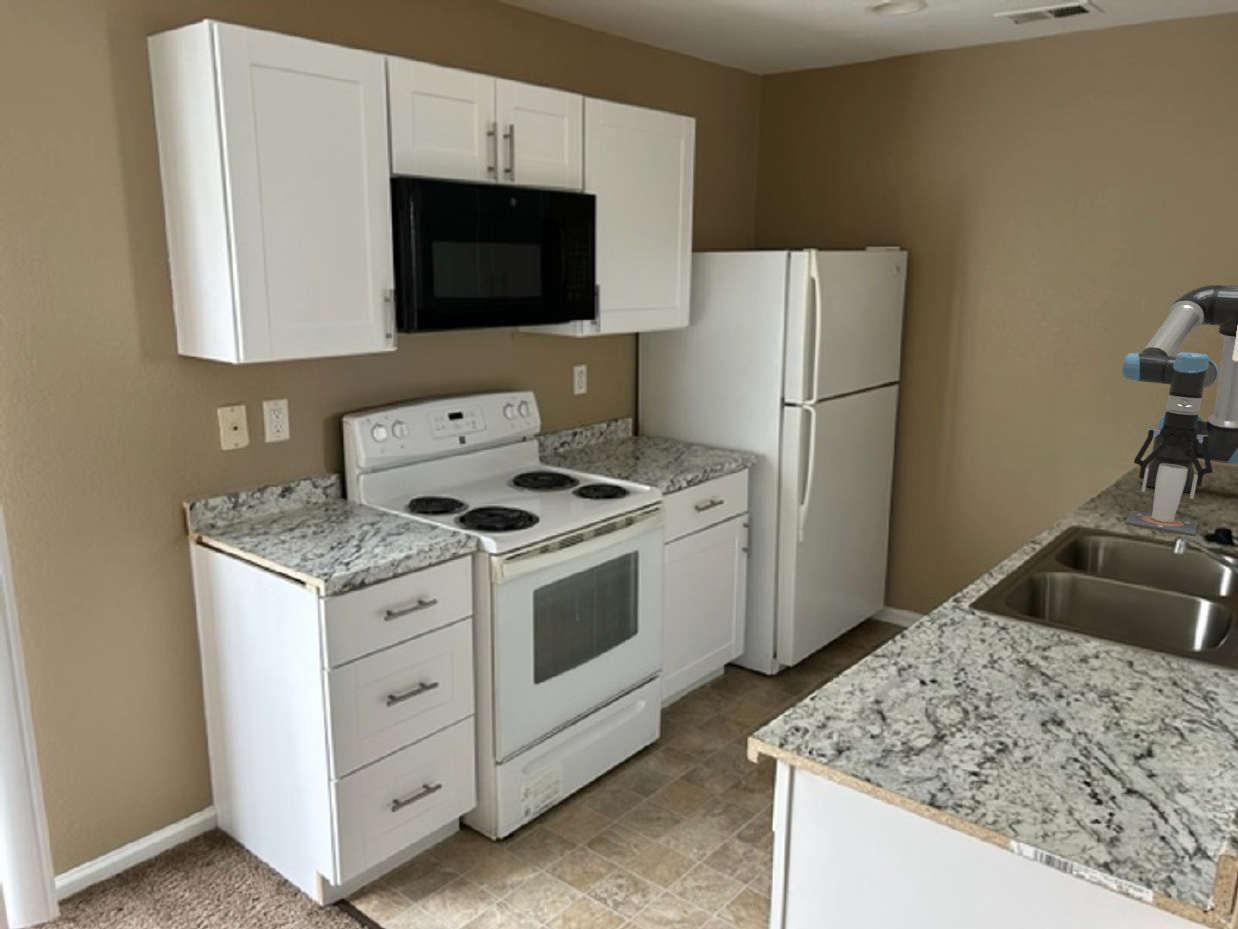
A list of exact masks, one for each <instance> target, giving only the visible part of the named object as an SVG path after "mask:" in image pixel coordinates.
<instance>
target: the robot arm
mask: <svg viewBox="0 0 1238 929" xmlns="http://www.w3.org/2000/svg"><path fill="white" fill-rule="evenodd" d="M1201 325H1202V326H1203V325H1204V326H1205V325H1210V326H1219V327H1218V334H1219V335H1220V336H1221V337H1222V338H1223V344H1222V352H1221V357H1220V358H1221V359H1220V367H1219V365H1218V364H1216V363H1215V362H1214V361H1213V360H1210V357H1209V355H1207V354H1205V353H1196V352H1183V351H1182V352H1179V353H1178V351H1179V350H1180V348H1181V346H1182V345H1183V344H1184V342H1185V341H1186V340H1187V339H1188V337H1189V336H1190V334H1191V332H1192V331H1193V330H1196V329H1199V327H1201ZM1237 325H1238V285H1219V284H1210V285H1204V286H1200V287H1197V288H1195V289H1192V290H1190V291H1188V292H1186V293H1185V294H1183V295H1182V296H1179V297H1178V298H1176V300H1174V301H1173V303H1172V305H1170V307H1169V308H1168V311H1167V317H1166V318H1165V320H1164V322H1162V324H1161V325H1160V327H1159V328H1158V330H1157V331H1156V332H1155V334H1153V336H1152V338H1151V339H1150V340H1149V342H1148V343H1147V344H1146V346H1145V347H1144V349H1143V350H1142V351H1141V352H1140V353H1139V352H1130V353H1128V354H1126V356H1125V357H1124V360H1123V364H1122V376H1123V378H1124V379H1126V380H1130V381H1136V382H1145V383H1153V384H1155V383H1156V384H1161V385H1162V384H1164V385H1169V393H1168V396H1167V403H1166V407H1165V408H1166V412H1165V413H1164V415H1163V416H1161V417H1159V419H1158V421H1157V425H1156V428H1155V429H1154V428H1149V429H1148V432H1147V433H1148V434H1147V437H1146V439H1145V441H1144V442H1143V444H1142V446H1141V448H1140V450H1139V451H1138V453H1137V455H1136V456H1135V458H1134V460H1133V463H1134V464H1135V465H1138V466H1140V469H1139V476H1138V477H1139V479H1140V484H1141V483H1142V484H1141V485H1142V486H1141V492H1142V493H1144V492H1146V487H1148V486H1150V487H1149V488H1152V487H1154V488H1153V489H1155V485H1156V477H1157V472H1158V468H1159V465H1160V464H1163V463H1164V464H1174V465H1180V466H1184V467H1186V468H1188V472H1187V478H1186V482H1185V486H1184V489H1183V492H1182V493H1190V494H1189V499H1191V500H1194V498H1195V494H1196V489H1197V488H1196V487H1201V486H1202V484H1203V478H1204V475H1206V474H1211V473H1213V469H1212V463H1211V462H1215V463H1216V462H1217V463H1223V464H1226V465H1229V464H1230V465H1235V466H1236V465H1238V362H1234V361H1233V360H1232V355H1233V350H1234V345H1235V339H1236V331H1237ZM1175 355H1176V356H1175ZM1217 380H1218V382H1217V390H1216V395H1215V396H1216V397H1215V405H1214V411H1213V412H1214V413H1212V414H1211V415H1209V417H1207V421H1203V416H1201V415H1198V413H1200V411H1201V410H1200V409H1201V405H1202V399H1203V394H1204V389H1205V388H1207V387H1209V386H1212V385H1213V384H1214V383H1215V382H1216V381H1217ZM1153 438H1154V441H1153ZM1152 441H1153V446H1152V450H1151V452H1150V454H1148V455H1147V457H1145V458H1144V459H1143V460H1142V458H1143V457H1144V456H1145V454H1146V452H1147V450H1148V448H1149V446H1150V444H1151V443H1152ZM1199 460H1203V461H1204V463H1205V464H1204V465H1205V468H1203V467H1202V465H1201V463H1200V461H1199ZM1194 468H1195V469H1196V471H1197V472H1194ZM1146 485H1148V486H1146ZM1190 491H1191V492H1190Z"/></svg>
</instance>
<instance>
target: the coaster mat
mask: <svg viewBox="0 0 1238 929" xmlns="http://www.w3.org/2000/svg"><path fill="white" fill-rule="evenodd" d="M1151 516H1152V513H1149V512H1144V511H1137V510H1131V511H1130V512H1129V514H1128V516H1127V519H1126V520H1125V523H1124V524H1125V525H1129V526H1134V527H1135V526H1136V527H1140V528H1146V529H1152V530H1158V531H1163V532H1164V531H1165V532H1170V533H1175V534H1181V535H1185V536H1193V537H1195V536H1196V533H1197V529H1198V523H1199V521H1198V520H1192V519H1185V518H1179V517H1175V519H1174V521H1173V522H1172V523H1165V522H1159V521H1156V520H1154V519H1152V517H1151Z"/></svg>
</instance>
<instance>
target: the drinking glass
mask: <svg viewBox="0 0 1238 929" xmlns="http://www.w3.org/2000/svg"><path fill="white" fill-rule="evenodd" d="M1187 472H1188V468H1186V467H1184V466H1180V465H1174V464H1164V463H1163V464H1160V465H1159V468H1158V472H1157V477H1156V485H1155V488H1154V497H1153V503H1152V504H1153V505H1152V512H1151V514H1152V516H1151V517H1152V519H1154V520H1156V521H1159V522H1165V523H1172V522H1173V521H1174V519H1175V518H1176V514H1177V511H1178V509H1179V508H1178V507H1179V505H1180V501H1181V498H1182V495H1183V493H1184V492H1183V489H1184V486H1185V482H1186V478H1187Z"/></svg>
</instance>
